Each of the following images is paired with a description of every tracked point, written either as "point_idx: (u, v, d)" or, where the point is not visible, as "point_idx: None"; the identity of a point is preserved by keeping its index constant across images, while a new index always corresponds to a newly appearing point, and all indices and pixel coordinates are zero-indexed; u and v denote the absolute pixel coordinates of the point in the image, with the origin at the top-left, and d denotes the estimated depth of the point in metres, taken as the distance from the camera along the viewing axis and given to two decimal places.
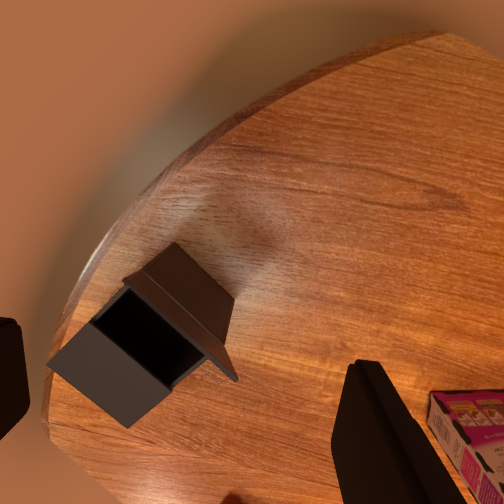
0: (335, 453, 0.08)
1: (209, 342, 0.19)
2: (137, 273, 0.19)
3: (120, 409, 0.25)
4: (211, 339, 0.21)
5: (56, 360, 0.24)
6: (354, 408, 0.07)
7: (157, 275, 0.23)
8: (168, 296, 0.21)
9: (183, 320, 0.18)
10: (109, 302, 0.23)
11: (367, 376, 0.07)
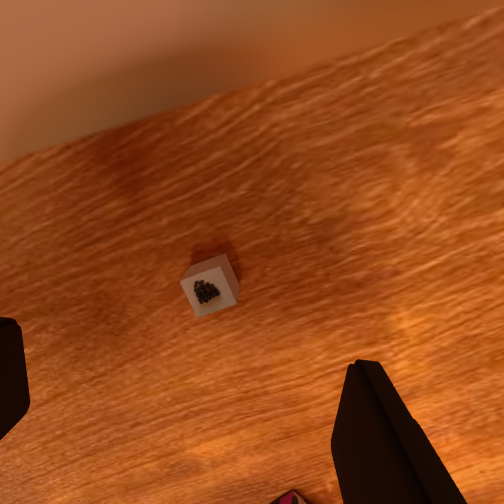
0: (335, 453, 0.08)
1: None
2: None
3: None
4: None
5: None
6: (354, 408, 0.07)
7: None
8: None
9: None
10: None
11: (367, 376, 0.07)
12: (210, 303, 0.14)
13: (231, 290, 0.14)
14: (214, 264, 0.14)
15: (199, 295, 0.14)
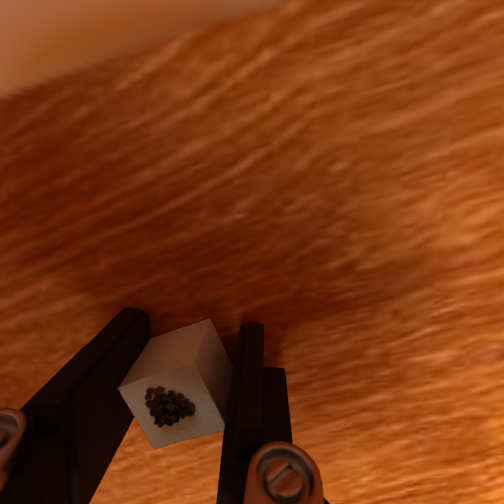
0: None
1: None
2: None
3: None
4: None
5: None
6: None
7: None
8: None
9: None
10: None
11: (246, 333, 0.08)
12: (178, 425, 0.08)
13: (217, 403, 0.08)
14: (186, 352, 0.08)
15: (156, 414, 0.07)
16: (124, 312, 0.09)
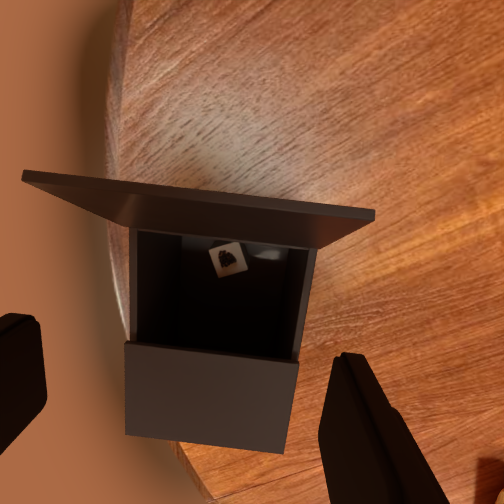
0: (322, 443, 0.08)
1: None
2: None
3: (253, 433, 0.16)
4: None
5: (131, 420, 0.16)
6: (338, 399, 0.07)
7: None
8: None
9: None
10: (131, 300, 0.15)
11: (350, 368, 0.07)
12: (229, 267, 0.20)
13: (244, 259, 0.20)
14: None
15: (221, 261, 0.20)
16: (3, 318, 0.08)
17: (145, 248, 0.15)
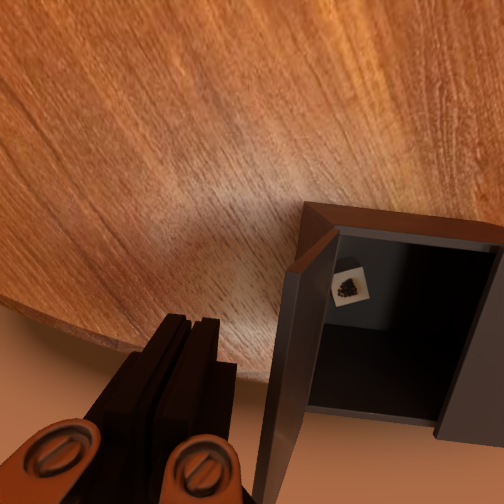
0: None
1: None
2: None
3: None
4: None
5: None
6: None
7: None
8: None
9: None
10: (384, 419, 0.13)
11: (199, 328, 0.08)
12: (358, 286, 0.18)
13: (349, 269, 0.18)
14: None
15: (349, 294, 0.18)
16: (169, 318, 0.09)
17: (327, 392, 0.14)
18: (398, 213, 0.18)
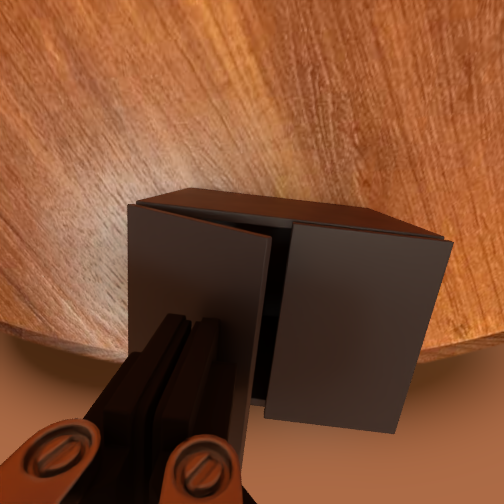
0: None
1: (190, 283, 0.10)
2: None
3: (408, 284, 0.11)
4: (157, 259, 0.10)
5: (373, 425, 0.13)
6: None
7: None
8: (133, 350, 0.12)
9: None
10: None
11: (199, 328, 0.08)
12: None
13: None
14: None
15: None
16: (169, 318, 0.09)
17: None
18: (277, 198, 0.18)
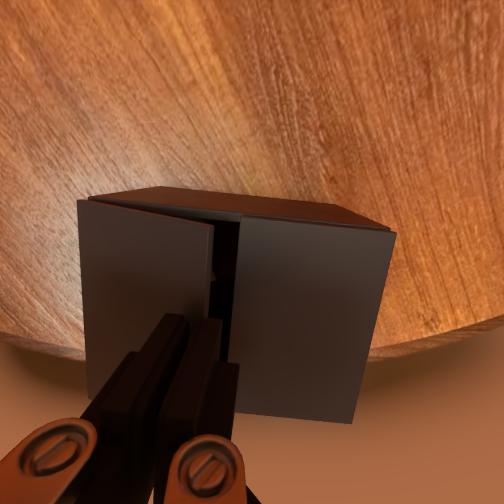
0: None
1: (141, 274, 0.10)
2: None
3: (355, 274, 0.11)
4: (108, 253, 0.10)
5: (330, 415, 0.13)
6: None
7: None
8: (90, 345, 0.12)
9: None
10: None
11: (202, 328, 0.08)
12: None
13: None
14: None
15: None
16: (166, 317, 0.09)
17: None
18: (244, 196, 0.18)
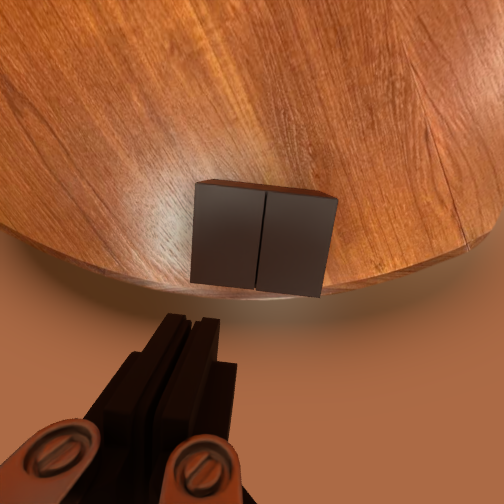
0: None
1: (232, 213, 0.24)
2: (214, 283, 0.26)
3: (320, 219, 0.24)
4: (213, 206, 0.24)
5: (309, 293, 0.26)
6: None
7: None
8: (195, 253, 0.25)
9: (235, 241, 0.25)
10: None
11: (199, 328, 0.08)
12: None
13: None
14: None
15: None
16: (169, 318, 0.09)
17: None
18: (264, 185, 0.31)
